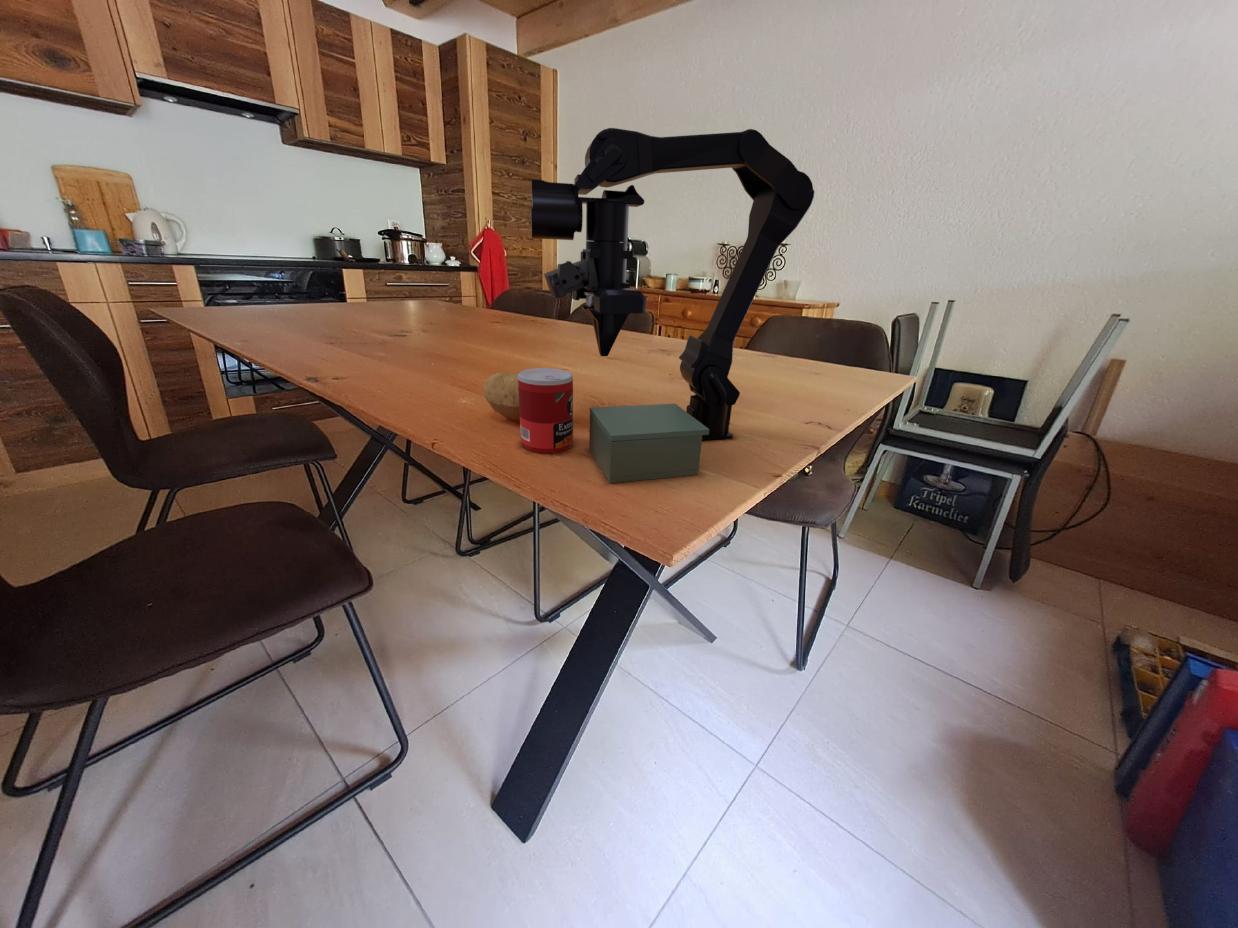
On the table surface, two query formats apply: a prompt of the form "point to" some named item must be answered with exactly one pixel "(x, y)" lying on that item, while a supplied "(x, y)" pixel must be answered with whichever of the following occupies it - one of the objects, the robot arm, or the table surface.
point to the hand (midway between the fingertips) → (603, 355)
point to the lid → (646, 422)
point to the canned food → (546, 409)
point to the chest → (644, 456)
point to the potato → (503, 394)
